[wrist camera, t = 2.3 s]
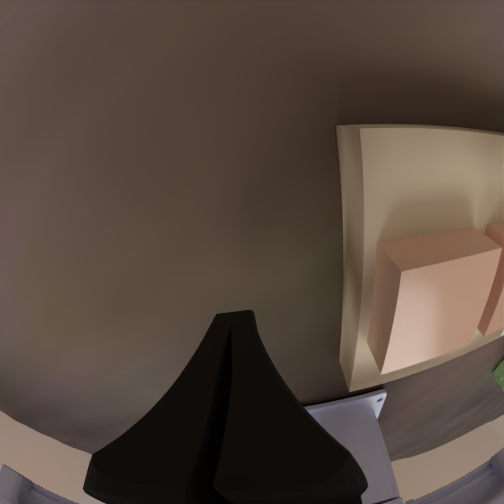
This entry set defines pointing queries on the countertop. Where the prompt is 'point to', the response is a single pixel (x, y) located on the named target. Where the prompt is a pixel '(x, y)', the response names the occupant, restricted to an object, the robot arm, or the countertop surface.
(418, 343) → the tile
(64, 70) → the countertop surface
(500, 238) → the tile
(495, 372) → the ink box
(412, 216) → the beige square slab
